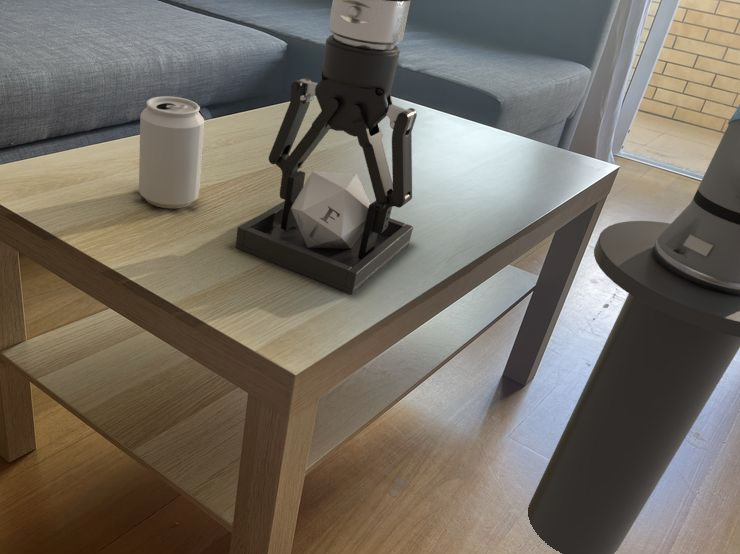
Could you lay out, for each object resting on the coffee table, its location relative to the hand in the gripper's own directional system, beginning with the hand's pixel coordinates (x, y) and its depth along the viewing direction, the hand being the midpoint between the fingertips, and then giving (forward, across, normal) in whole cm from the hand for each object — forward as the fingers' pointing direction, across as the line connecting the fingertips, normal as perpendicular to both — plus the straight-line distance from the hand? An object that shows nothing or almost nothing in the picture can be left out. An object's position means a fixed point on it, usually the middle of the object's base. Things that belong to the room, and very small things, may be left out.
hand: (326, 240), depth 85 cm
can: (+1, -21, -3) cm, 21 cm away
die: (0, 0, 0) cm, 0 cm away
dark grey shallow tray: (+1, 0, 0) cm, 1 cm away
